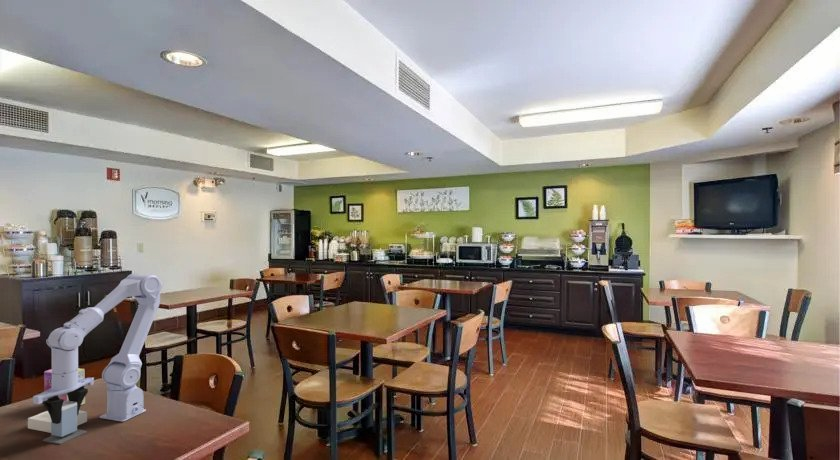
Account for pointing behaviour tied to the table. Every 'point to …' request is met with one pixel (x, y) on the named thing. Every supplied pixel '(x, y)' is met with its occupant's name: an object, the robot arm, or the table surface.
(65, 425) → the plug
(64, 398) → the box
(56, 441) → the mat
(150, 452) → the table surface
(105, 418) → the robot arm
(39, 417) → the frame
